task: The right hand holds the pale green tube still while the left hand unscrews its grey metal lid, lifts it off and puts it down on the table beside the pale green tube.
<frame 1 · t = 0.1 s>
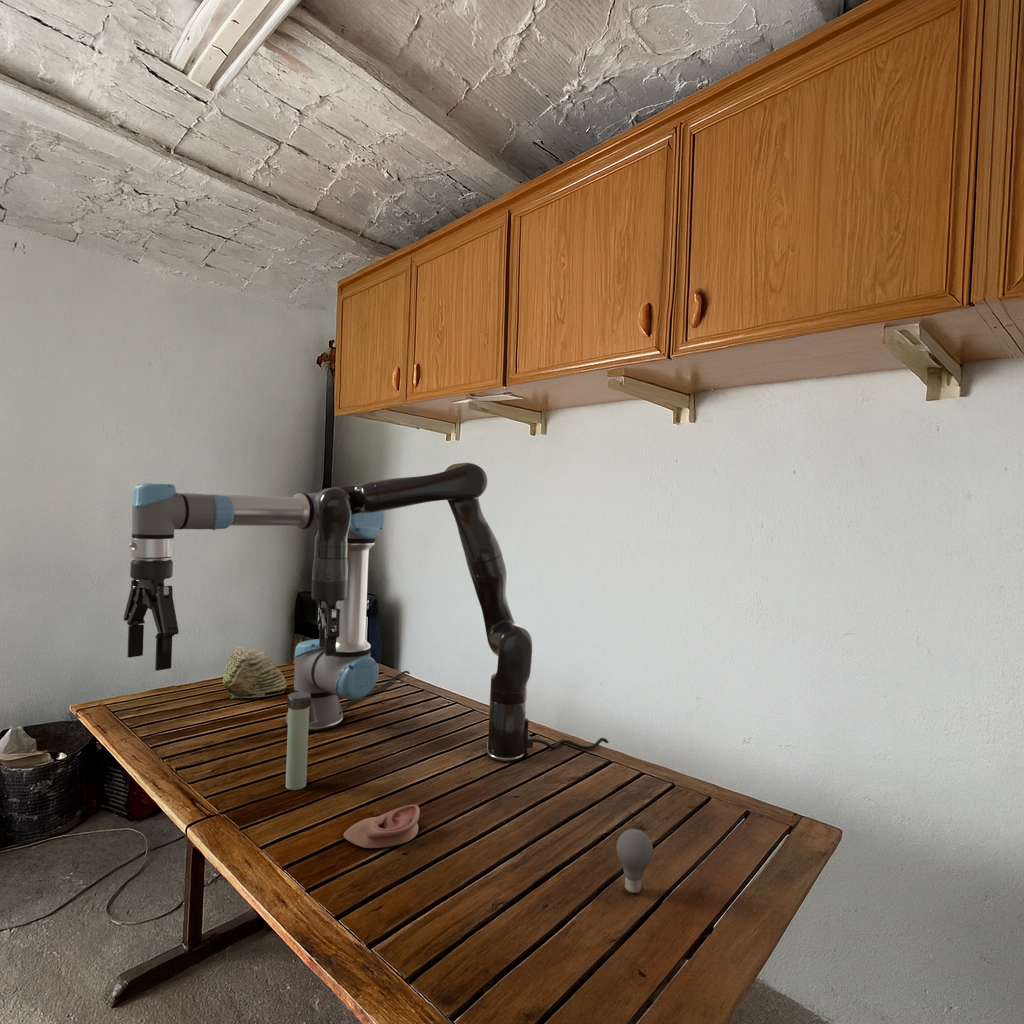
left hand: (148, 662, 129), 28 cm above the table, tool pointing down, fingers open, 13 cm apart
right hand: (327, 650, 140), 29 cm above the table, tool pointing down, fingers open, 8 cm apart
fossil: (254, 694, 198), on the table
anatomical model: (381, 834, 120), on the table
light bulb: (632, 891, 106), on the table
pale green tube: (295, 785, 138), on the table
lid: (299, 696, 138), point 20 cm above the table, screwed on, not yet turned
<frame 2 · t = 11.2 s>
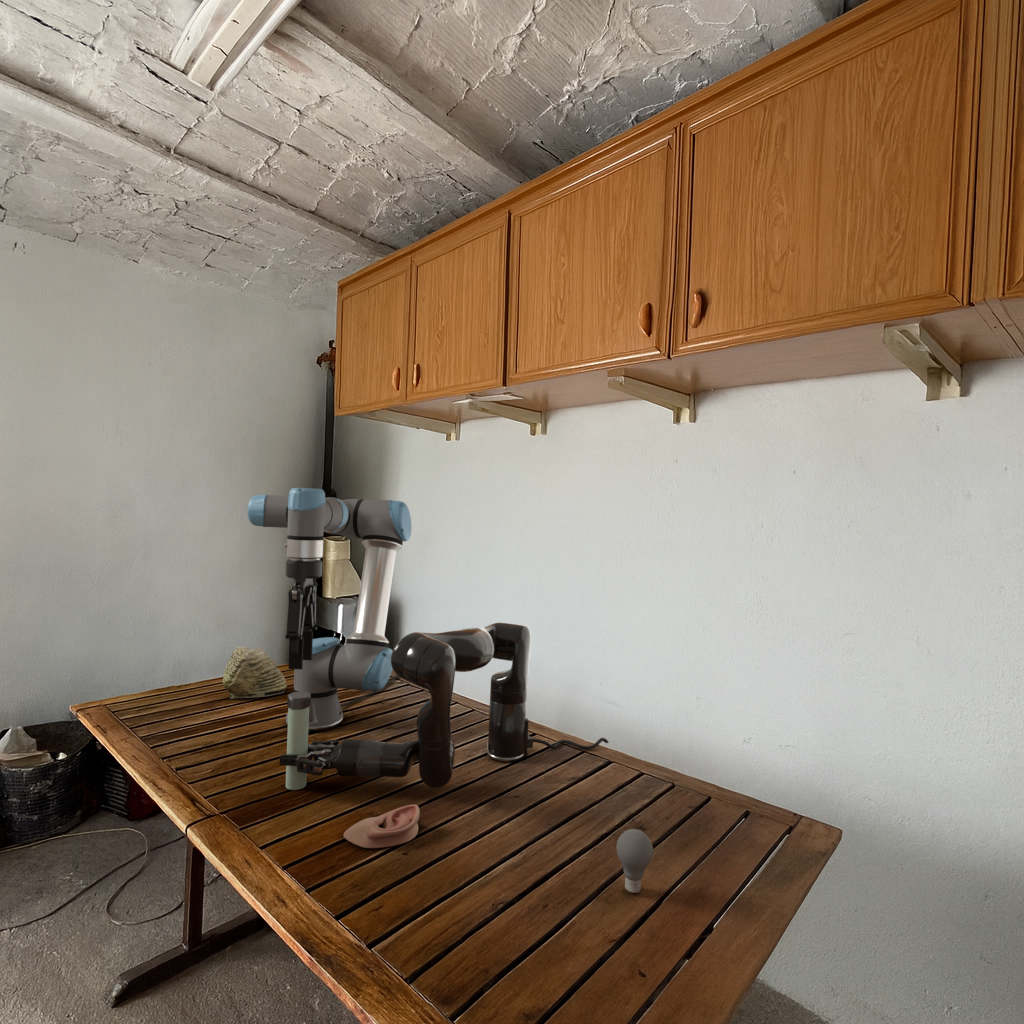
left hand: (300, 663, 138), 27 cm above the table, tool pointing down, fingers open, 7 cm apart
right hand: (284, 755, 138), 7 cm above the table, tool horizontal, fingers closed on pale green tube, 4 cm apart
pale green tube: (296, 785, 138), on the table, touching right hand
everything else where it was.
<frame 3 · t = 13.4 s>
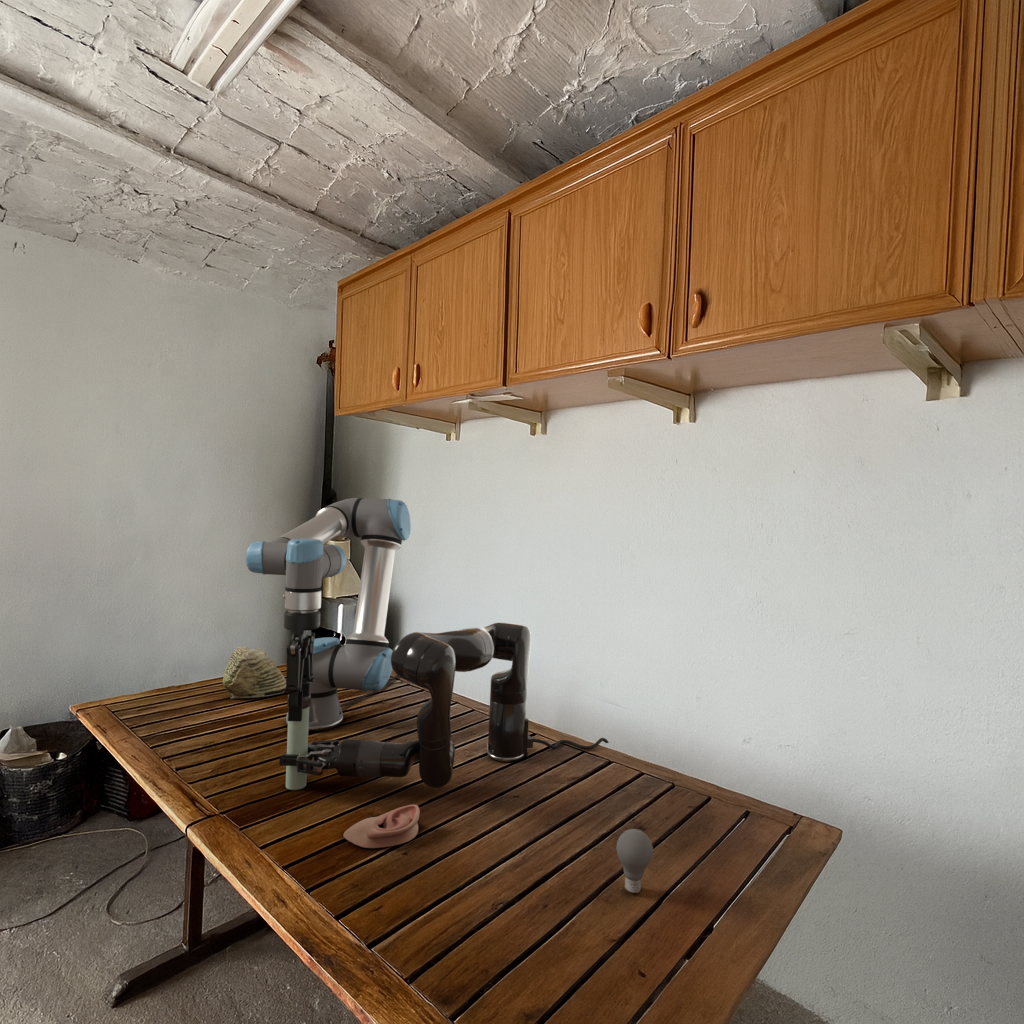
left hand: (298, 716, 138), 15 cm above the table, tool pointing down, fingers closed on lid, 5 cm apart
right hand: (284, 755, 138), 7 cm above the table, tool horizontal, fingers closed on pale green tube, 4 cm apart
pale green tube: (296, 785, 138), on the table, touching right hand
lid: (299, 696, 138), point 20 cm above the table, screwed on, not yet turned, touching left hand
everything else where it was.
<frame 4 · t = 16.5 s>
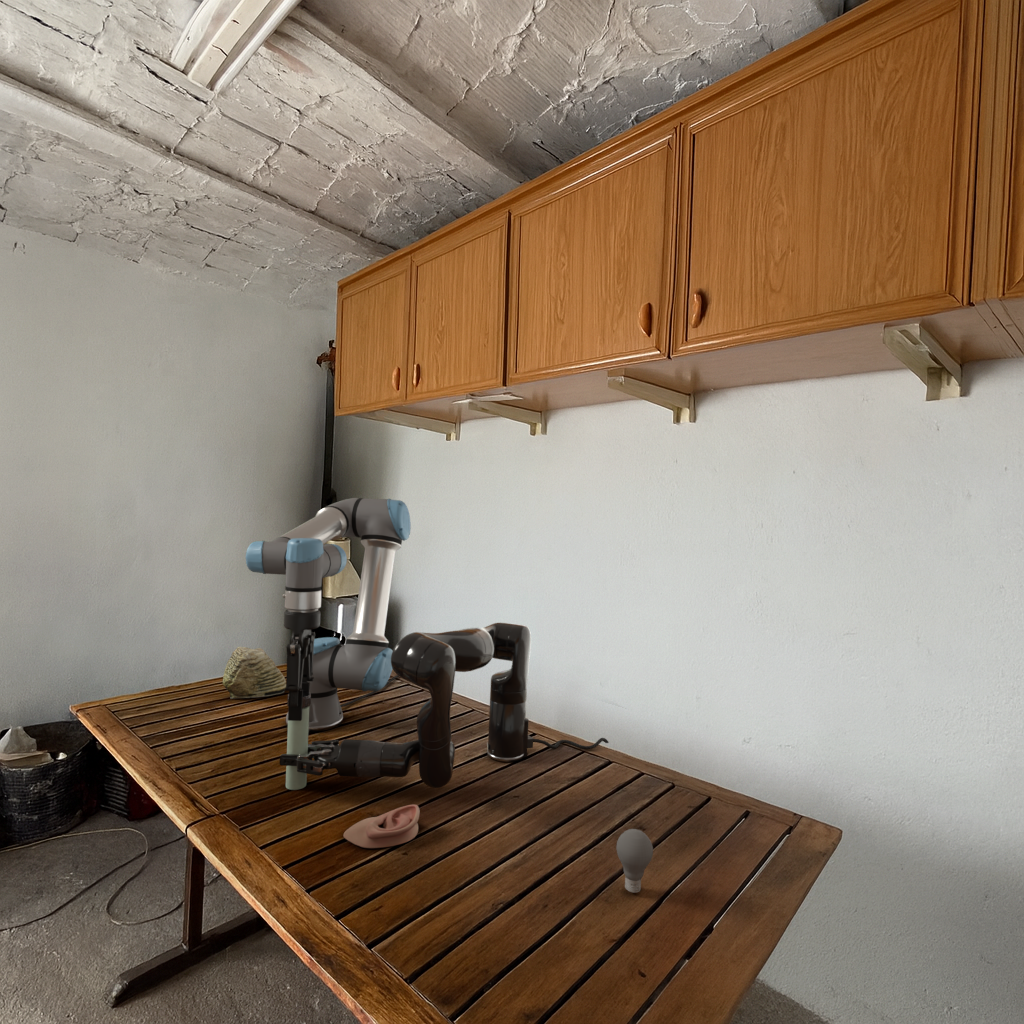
left hand: (298, 715, 138), 15 cm above the table, tool pointing down, fingers closed on lid, 5 cm apart
right hand: (284, 755, 138), 7 cm above the table, tool horizontal, fingers closed on pale green tube, 4 cm apart
pale green tube: (296, 785, 138), on the table, touching right hand
lid: (299, 695, 138), point 20 cm above the table, turned 89° so far, risen 0.1 cm, still on its thread, touching left hand
everything else where it was.
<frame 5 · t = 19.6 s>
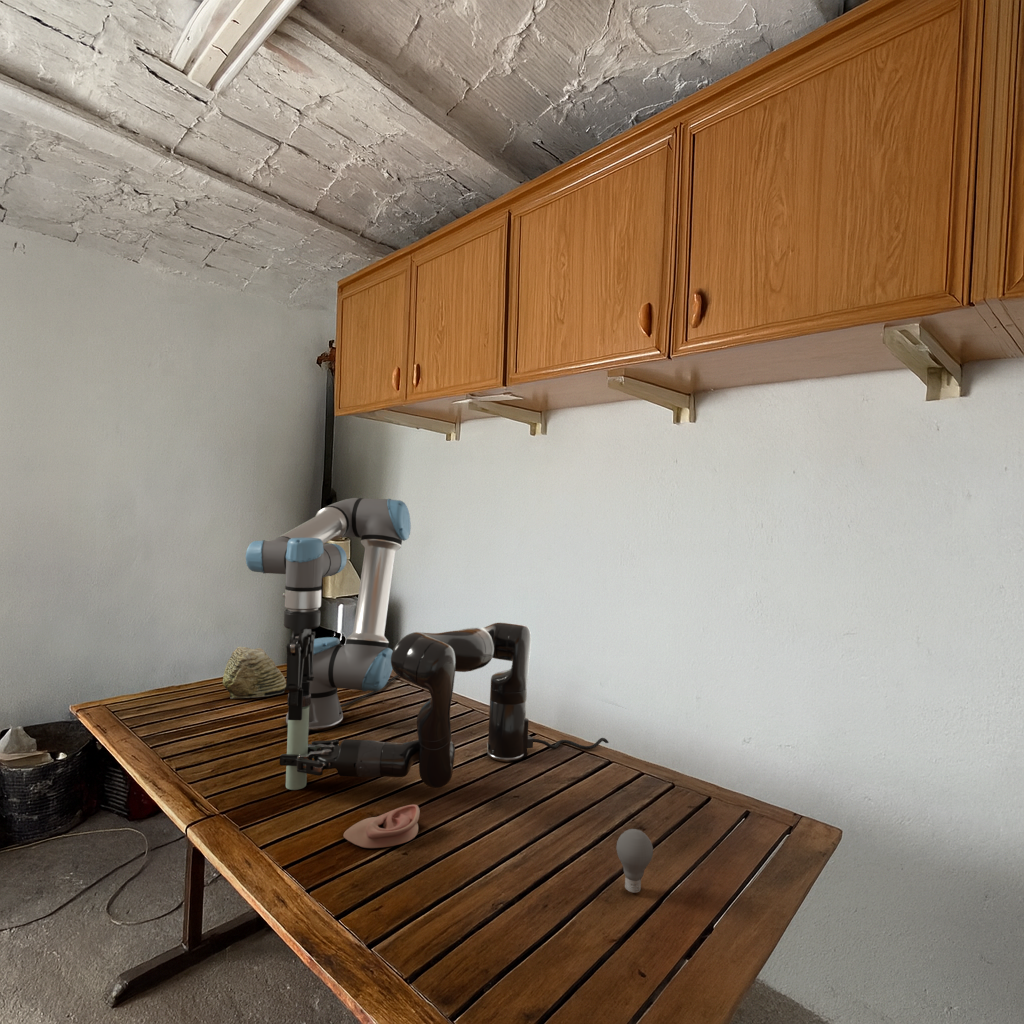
left hand: (298, 715, 138), 16 cm above the table, tool pointing down, fingers closed on lid, 5 cm apart
right hand: (284, 755, 138), 7 cm above the table, tool horizontal, fingers closed on pale green tube, 4 cm apart
pale green tube: (296, 785, 138), on the table, touching right hand
lid: (299, 695, 138), point 20 cm above the table, turned 178° so far, risen 0.2 cm, still on its thread, touching left hand
everything else where it was.
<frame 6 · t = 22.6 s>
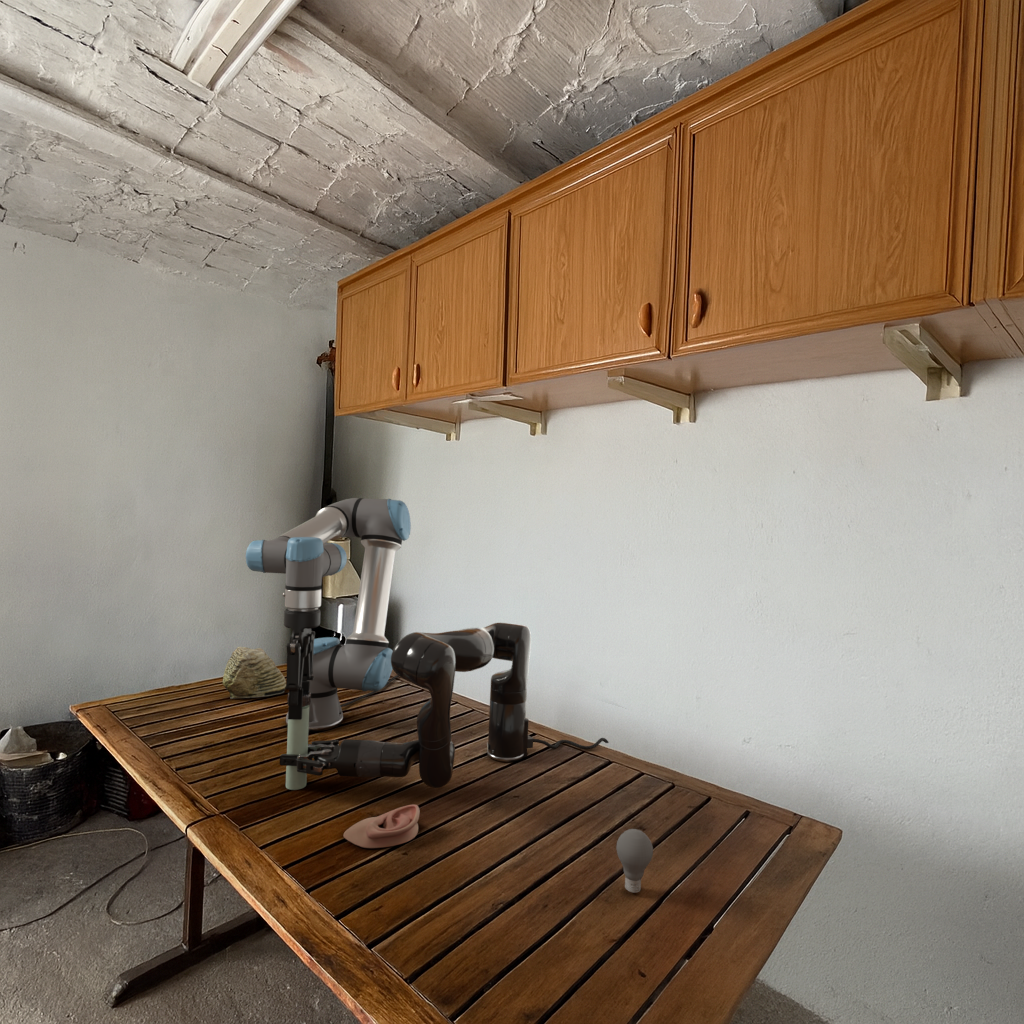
left hand: (298, 714, 138), 16 cm above the table, tool pointing down, fingers closed on lid, 5 cm apart
right hand: (284, 755, 138), 7 cm above the table, tool horizontal, fingers closed on pale green tube, 4 cm apart
pale green tube: (296, 785, 138), on the table, touching right hand
lid: (299, 694, 138), point 20 cm above the table, turned 267° so far, risen 0.4 cm, still on its thread, touching left hand
everything else where it was.
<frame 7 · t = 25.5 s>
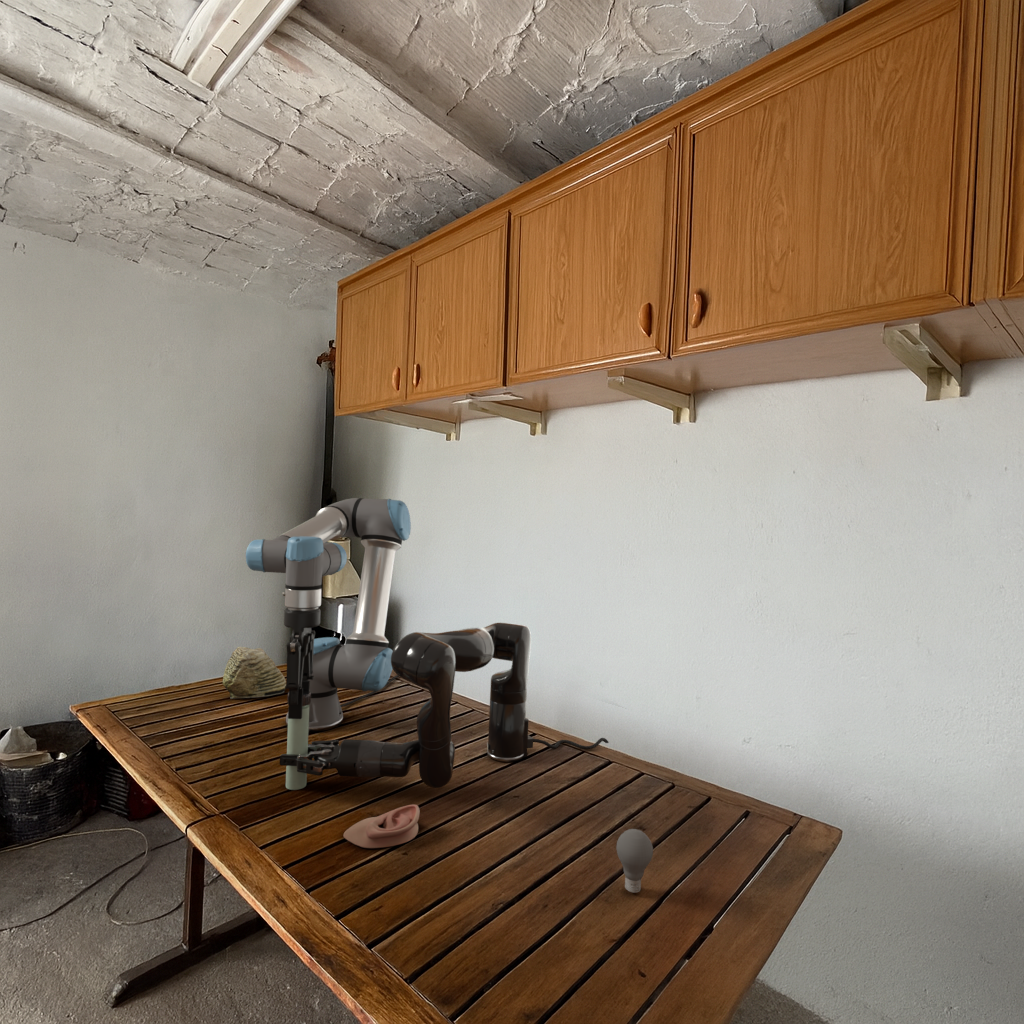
left hand: (298, 713, 138), 16 cm above the table, tool pointing down, fingers closed on lid, 5 cm apart
right hand: (284, 755, 138), 7 cm above the table, tool horizontal, fingers closed on pale green tube, 4 cm apart
pale green tube: (296, 785, 138), on the table, touching right hand
lid: (299, 694, 138), point 20 cm above the table, turned 356° so far, risen 0.5 cm, still on its thread, touching left hand
everything else where it was.
when the left hand's fingers open (0 cm above the table, at t = 36.1 s): lid drops 3 cm, point 2 cm above the table.
when the right hand's fingers open (7 cm above the table, at t = 36.7 s): pale green tube stays where it is, on the table.
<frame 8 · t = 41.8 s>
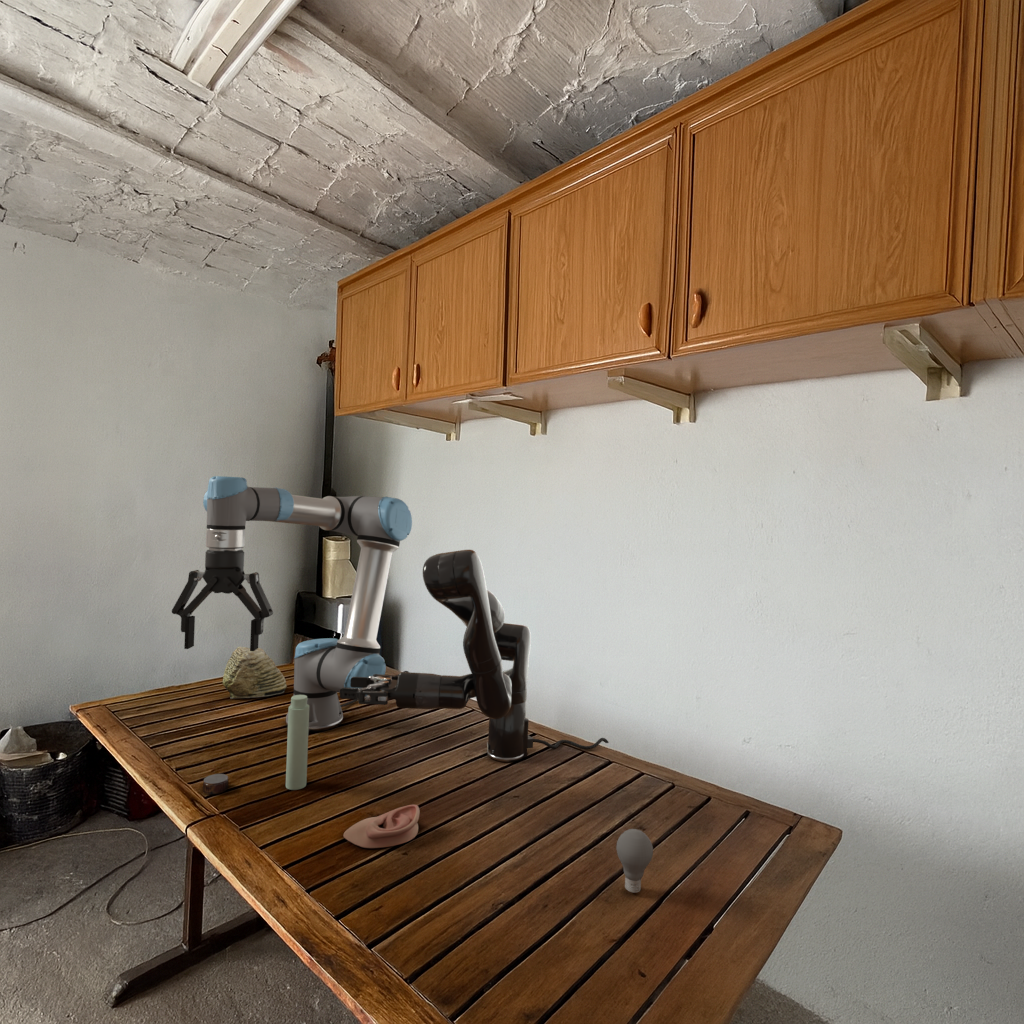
left hand: (221, 648, 135), 30 cm above the table, tool pointing down, fingers open, 13 cm apart
right hand: (345, 687, 138), 22 cm above the table, tool horizontal, fingers open, 8 cm apart
pale green tube: (296, 785, 138), on the table
lid: (215, 780, 135), point 2 cm above the table, off its thread
everything else where it was.
at the end: lid came off its thread; lid point 2.0 cm above the table; the left hand is holding nothing; the right hand is holding nothing; pale green tube tilted 0°; pale green tube moved 0.0 cm from its start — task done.
